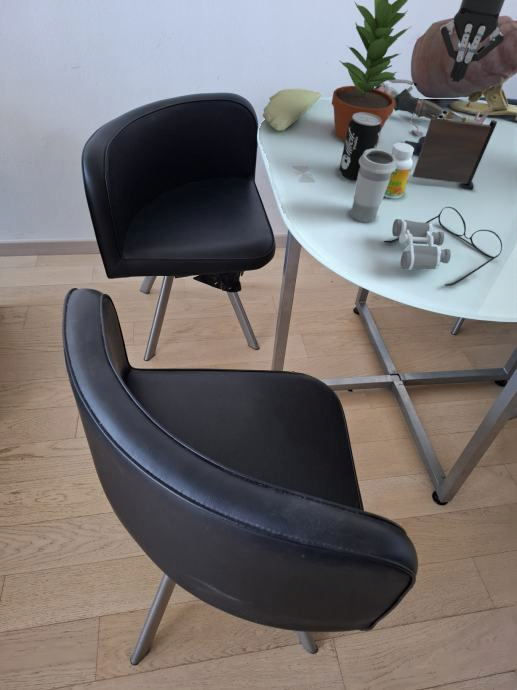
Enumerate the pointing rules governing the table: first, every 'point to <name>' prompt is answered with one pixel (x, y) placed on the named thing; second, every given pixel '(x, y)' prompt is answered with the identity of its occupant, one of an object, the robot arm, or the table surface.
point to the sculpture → (480, 75)
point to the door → (450, 150)
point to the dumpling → (288, 106)
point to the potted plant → (369, 68)
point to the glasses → (464, 240)
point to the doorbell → (416, 145)
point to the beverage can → (359, 142)
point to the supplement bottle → (400, 170)
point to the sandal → (493, 98)
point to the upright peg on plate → (479, 158)
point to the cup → (372, 183)
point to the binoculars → (418, 254)
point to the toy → (422, 105)
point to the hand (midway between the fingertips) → (455, 80)
